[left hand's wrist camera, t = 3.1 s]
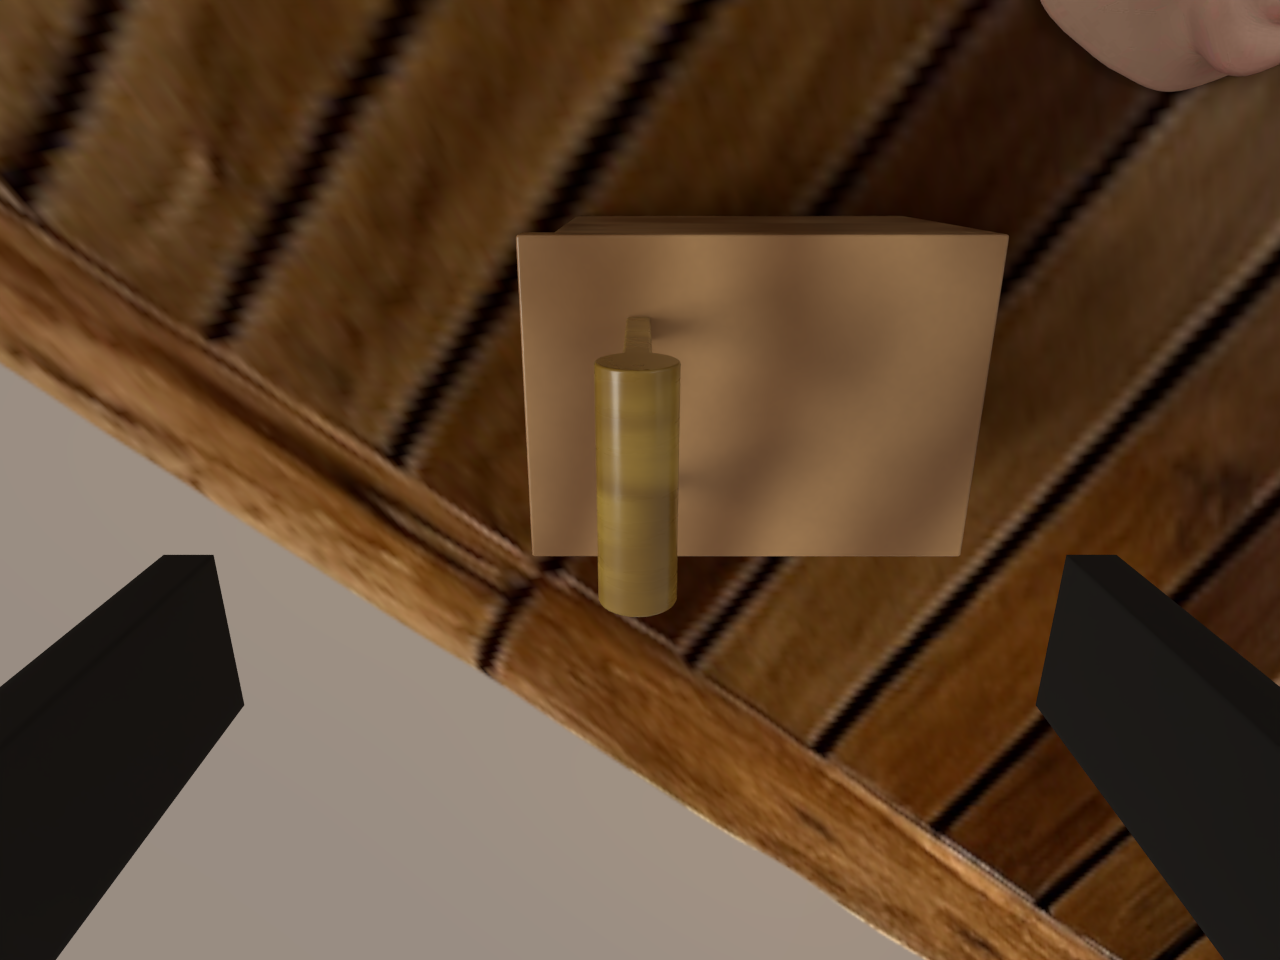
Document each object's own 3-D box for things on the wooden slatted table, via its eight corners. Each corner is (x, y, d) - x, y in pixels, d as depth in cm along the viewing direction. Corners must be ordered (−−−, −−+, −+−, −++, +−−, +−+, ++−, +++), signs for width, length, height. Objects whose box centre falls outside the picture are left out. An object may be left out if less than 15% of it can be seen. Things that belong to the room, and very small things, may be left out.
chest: (582, 456, 36) (564, 545, 27) (576, 215, 32) (553, 232, 24) (877, 456, 36) (951, 545, 27) (903, 215, 32) (997, 232, 24)
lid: (535, 545, 27) (493, 696, 20) (519, 232, 24) (459, 262, 16) (951, 545, 27) (1076, 697, 20) (998, 232, 24) (1173, 262, 16)
